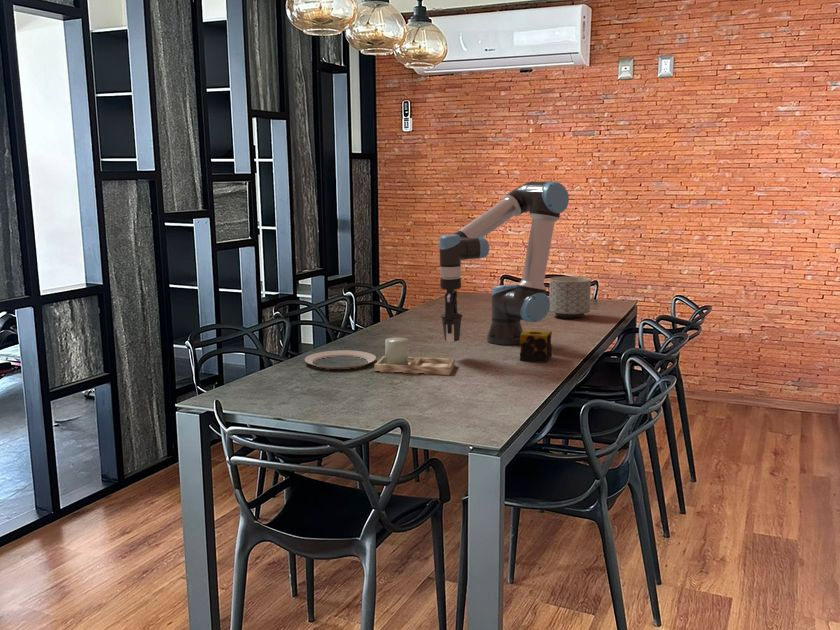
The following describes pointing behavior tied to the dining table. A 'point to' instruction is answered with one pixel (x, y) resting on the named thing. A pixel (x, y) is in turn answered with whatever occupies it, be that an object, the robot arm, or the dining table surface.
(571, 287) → the planter
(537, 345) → the yellow die
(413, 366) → the birch caddy
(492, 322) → the robot arm
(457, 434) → the dining table surface
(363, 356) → the plate
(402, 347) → the pale grey-green cylinder
